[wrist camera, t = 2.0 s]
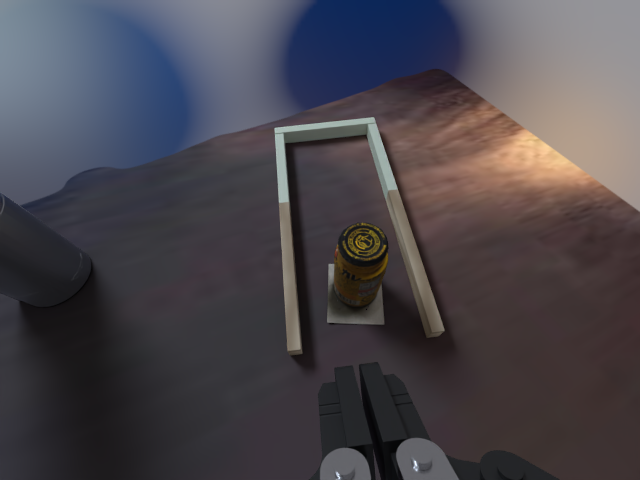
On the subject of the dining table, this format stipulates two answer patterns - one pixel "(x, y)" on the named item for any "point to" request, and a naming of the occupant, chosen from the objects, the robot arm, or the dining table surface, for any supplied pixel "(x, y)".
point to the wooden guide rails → (410, 257)
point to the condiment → (358, 276)
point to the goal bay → (327, 132)
